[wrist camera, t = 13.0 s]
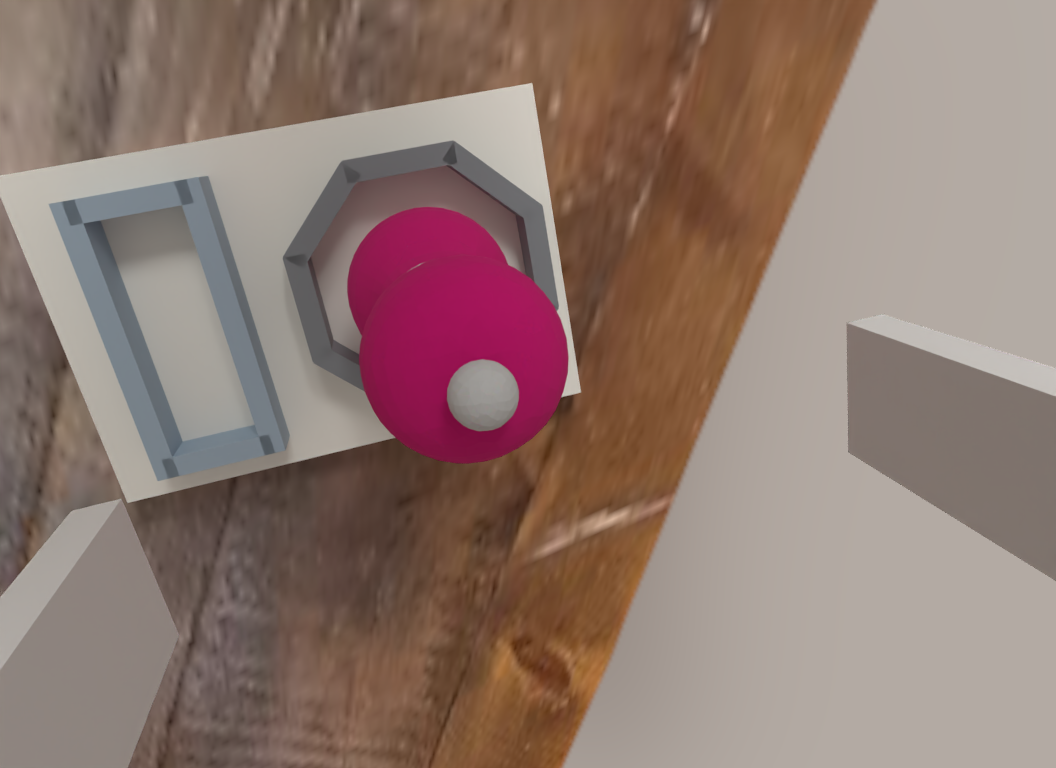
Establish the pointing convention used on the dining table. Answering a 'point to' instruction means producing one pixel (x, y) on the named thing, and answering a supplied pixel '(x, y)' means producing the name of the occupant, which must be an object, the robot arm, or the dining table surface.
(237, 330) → the holder board
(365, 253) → the pepper mill
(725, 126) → the dining table surface
